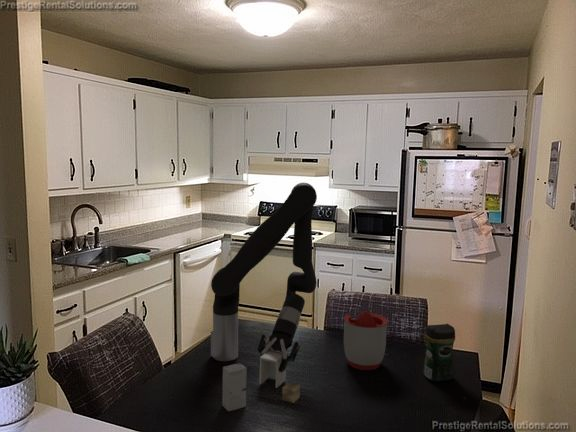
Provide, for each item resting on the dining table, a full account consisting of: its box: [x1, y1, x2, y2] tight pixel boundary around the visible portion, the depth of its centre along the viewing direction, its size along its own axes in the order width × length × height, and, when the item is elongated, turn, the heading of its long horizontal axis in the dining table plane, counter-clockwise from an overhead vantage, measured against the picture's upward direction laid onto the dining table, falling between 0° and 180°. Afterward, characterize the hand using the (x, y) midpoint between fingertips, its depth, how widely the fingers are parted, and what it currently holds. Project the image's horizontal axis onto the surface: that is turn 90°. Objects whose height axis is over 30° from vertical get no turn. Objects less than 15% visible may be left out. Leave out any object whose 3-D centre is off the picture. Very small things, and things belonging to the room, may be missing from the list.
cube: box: [281, 382, 301, 404], centre depth 145 cm, size 4×4×4 cm
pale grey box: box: [258, 351, 287, 389], centre depth 154 cm, size 6×6×9 cm
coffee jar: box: [423, 323, 456, 382], centre depth 161 cm, size 10×8×19 cm
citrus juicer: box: [343, 310, 389, 371], centre depth 170 cm, size 16×17×20 cm
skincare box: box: [222, 362, 247, 412], centre depth 140 cm, size 6×4×12 cm
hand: (270, 368), depth 153 cm, fingers open, 6 cm apart
